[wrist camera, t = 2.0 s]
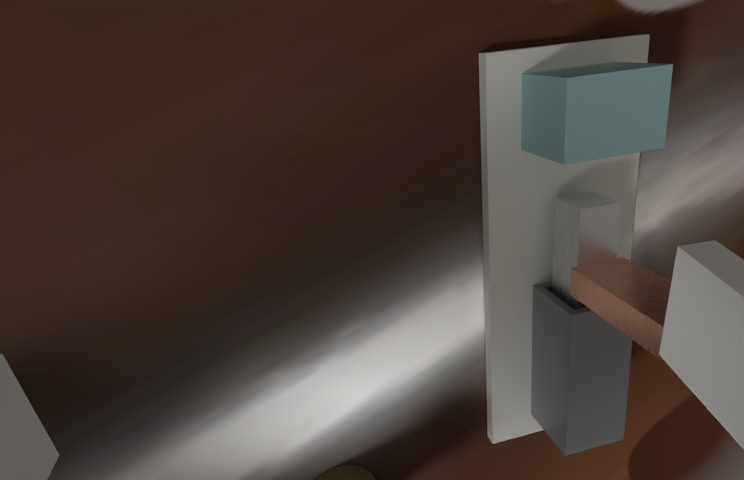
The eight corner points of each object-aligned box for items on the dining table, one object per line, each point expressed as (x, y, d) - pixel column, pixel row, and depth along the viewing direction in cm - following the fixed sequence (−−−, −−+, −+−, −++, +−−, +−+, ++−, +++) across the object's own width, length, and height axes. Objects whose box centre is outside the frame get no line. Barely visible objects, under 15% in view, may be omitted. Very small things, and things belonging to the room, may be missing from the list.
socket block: (611, 135, 38) (664, 148, 34) (521, 149, 37) (564, 165, 32) (615, 61, 36) (672, 64, 32) (521, 73, 35) (567, 77, 30)
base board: (610, 402, 48) (618, 409, 48) (487, 436, 46) (492, 443, 45) (639, 34, 37) (649, 34, 36) (478, 53, 35) (485, 53, 34)
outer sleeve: (584, 400, 46) (623, 439, 42) (531, 414, 45) (565, 455, 41) (591, 272, 42) (636, 300, 37) (532, 285, 41) (571, 315, 36)
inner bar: (587, 378, 44) (721, 501, 32) (543, 390, 43) (664, 520, 31) (598, 190, 38) (766, 254, 26) (547, 199, 37) (697, 270, 26)
